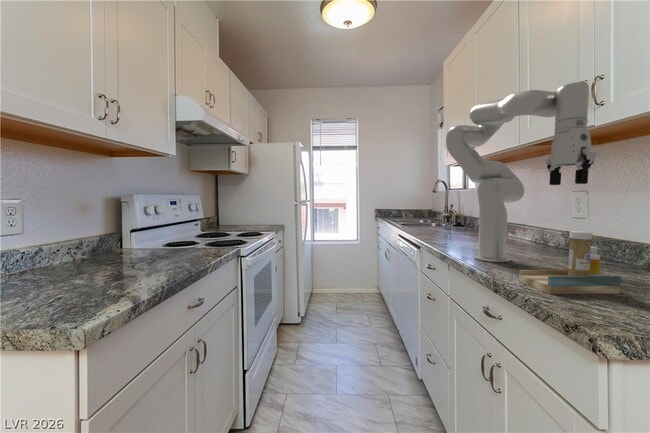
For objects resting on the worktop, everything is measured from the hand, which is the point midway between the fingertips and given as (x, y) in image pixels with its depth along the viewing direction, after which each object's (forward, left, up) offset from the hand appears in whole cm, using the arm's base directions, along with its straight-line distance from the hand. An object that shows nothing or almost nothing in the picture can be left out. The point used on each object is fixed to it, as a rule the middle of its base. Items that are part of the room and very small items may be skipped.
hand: (567, 184), depth 92 cm
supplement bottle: (+3, +5, -28) cm, 29 cm away
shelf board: (+11, -8, -28) cm, 31 cm away
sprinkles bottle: (+13, -6, -26) cm, 30 cm away
